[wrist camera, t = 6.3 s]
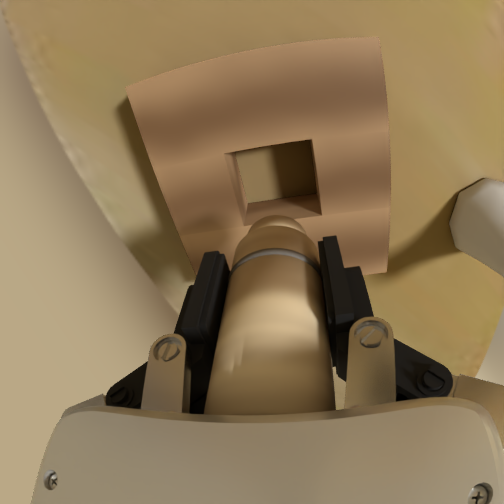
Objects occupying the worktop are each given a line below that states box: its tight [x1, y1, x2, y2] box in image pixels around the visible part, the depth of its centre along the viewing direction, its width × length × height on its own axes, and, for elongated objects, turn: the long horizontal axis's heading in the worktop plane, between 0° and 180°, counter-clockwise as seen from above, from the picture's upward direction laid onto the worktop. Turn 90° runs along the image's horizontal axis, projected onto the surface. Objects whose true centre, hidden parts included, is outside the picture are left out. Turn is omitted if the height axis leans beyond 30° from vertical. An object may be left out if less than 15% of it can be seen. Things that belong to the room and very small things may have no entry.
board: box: [125, 37, 391, 277], centre depth 19 cm, size 16×14×3 cm
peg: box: [204, 215, 336, 415], centre depth 11 cm, size 4×4×9 cm
